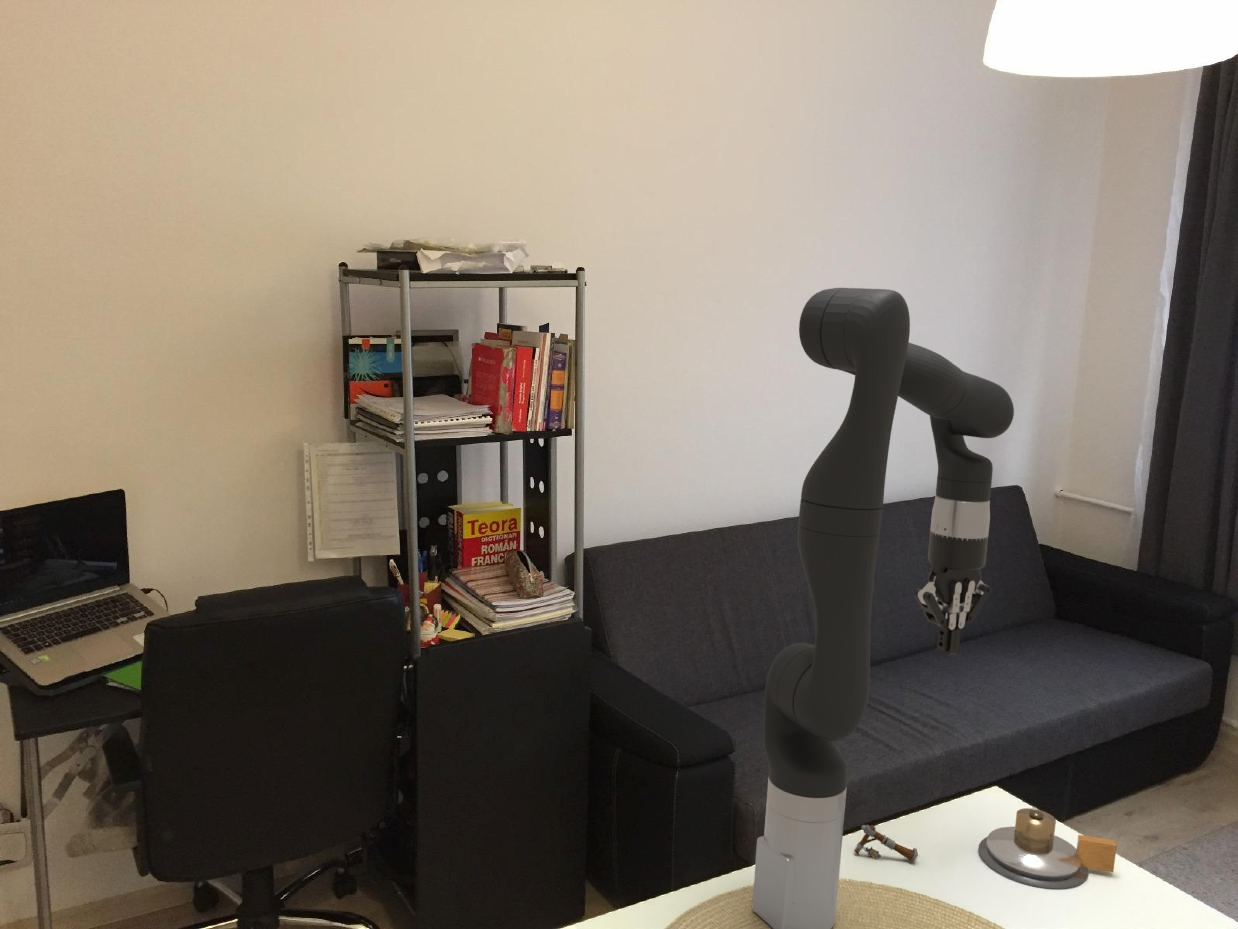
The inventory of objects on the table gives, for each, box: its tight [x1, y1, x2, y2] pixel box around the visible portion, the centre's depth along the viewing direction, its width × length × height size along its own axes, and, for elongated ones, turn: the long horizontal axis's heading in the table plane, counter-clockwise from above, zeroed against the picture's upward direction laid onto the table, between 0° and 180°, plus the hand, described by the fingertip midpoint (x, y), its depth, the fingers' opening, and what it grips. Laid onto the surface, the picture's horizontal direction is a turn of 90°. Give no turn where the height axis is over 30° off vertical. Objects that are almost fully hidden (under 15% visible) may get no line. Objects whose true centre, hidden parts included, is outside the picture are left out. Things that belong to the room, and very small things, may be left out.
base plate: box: [977, 836, 1090, 890], centre depth 142 cm, size 14×14×1 cm
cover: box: [1014, 806, 1057, 854], centre depth 143 cm, size 5×5×5 cm
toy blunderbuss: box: [854, 823, 919, 866], centre depth 141 cm, size 2×8×4 cm, turn 81°
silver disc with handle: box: [986, 826, 1117, 880], centre depth 141 cm, size 16×12×4 cm
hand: (947, 653), depth 144 cm, fingers closed
